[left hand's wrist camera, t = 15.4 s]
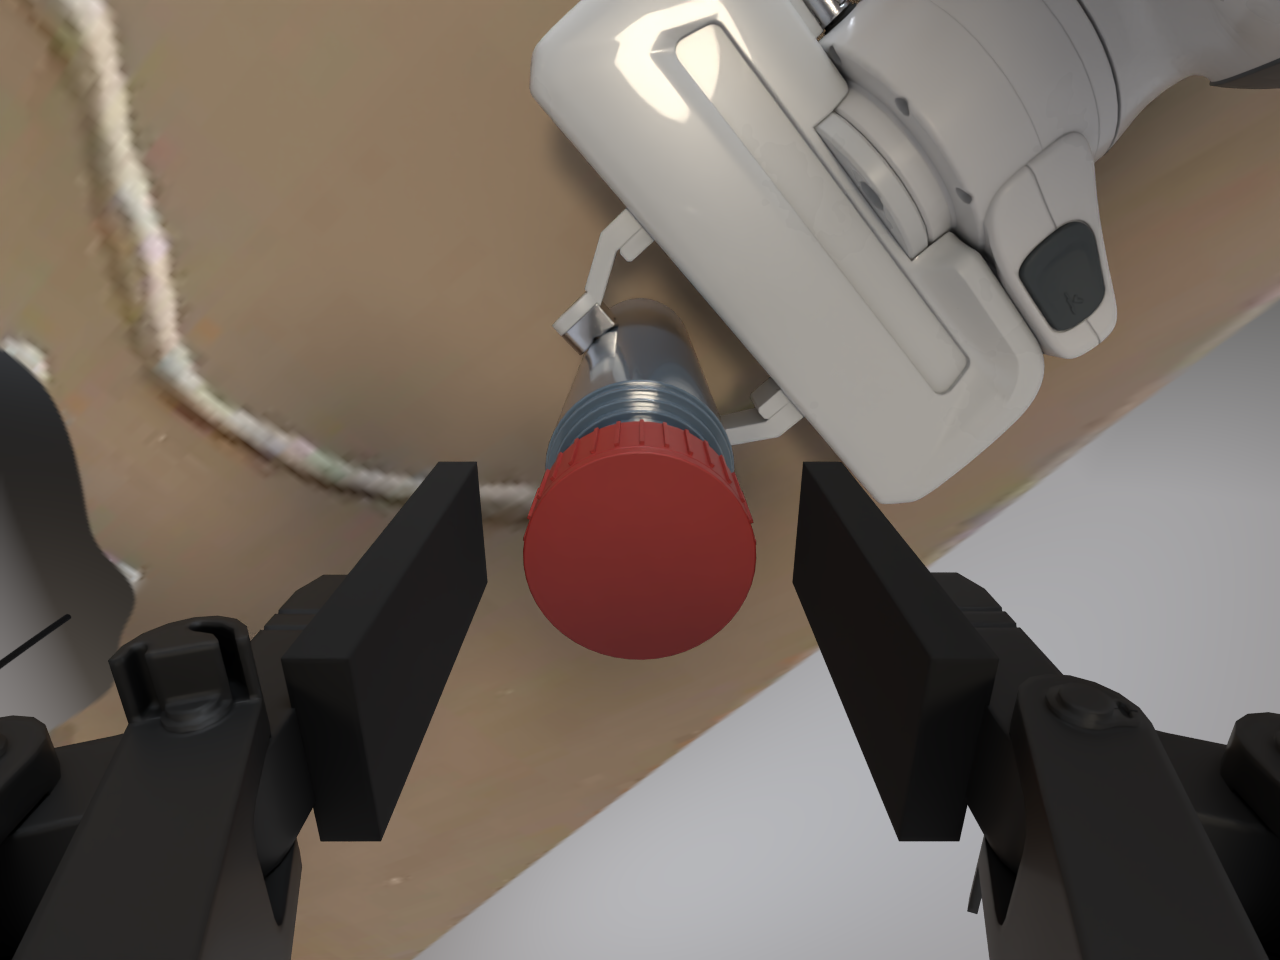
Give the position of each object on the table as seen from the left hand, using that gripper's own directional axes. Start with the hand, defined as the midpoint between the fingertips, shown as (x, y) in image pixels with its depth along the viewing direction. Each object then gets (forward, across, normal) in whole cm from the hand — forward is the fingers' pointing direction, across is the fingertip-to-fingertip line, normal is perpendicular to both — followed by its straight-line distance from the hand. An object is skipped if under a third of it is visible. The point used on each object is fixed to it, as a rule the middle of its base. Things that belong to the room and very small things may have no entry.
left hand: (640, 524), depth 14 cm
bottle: (+19, 0, 0) cm, 19 cm away
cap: (-1, 0, 0) cm, 1 cm away
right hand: (+13, -1, -1) cm, 13 cm away
